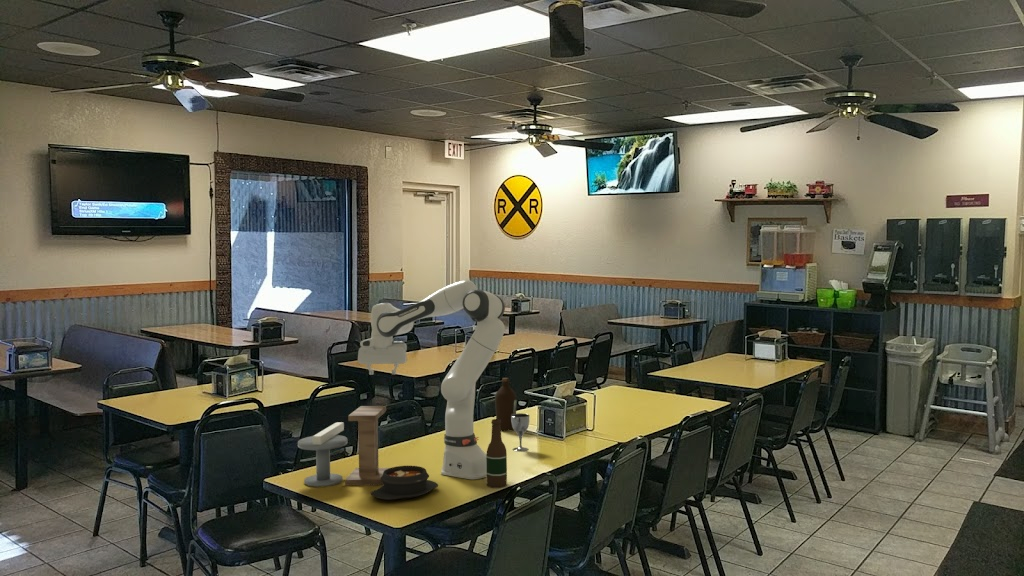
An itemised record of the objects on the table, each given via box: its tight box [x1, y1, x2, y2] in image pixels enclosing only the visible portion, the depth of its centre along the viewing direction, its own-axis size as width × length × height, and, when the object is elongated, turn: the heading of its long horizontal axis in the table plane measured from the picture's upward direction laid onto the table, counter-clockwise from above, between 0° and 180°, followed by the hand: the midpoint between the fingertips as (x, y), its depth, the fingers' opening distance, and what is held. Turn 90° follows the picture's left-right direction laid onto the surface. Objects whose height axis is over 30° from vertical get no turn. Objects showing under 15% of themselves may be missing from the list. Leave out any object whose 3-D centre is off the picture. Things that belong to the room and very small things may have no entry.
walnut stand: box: [344, 405, 390, 486], centre depth 279 cm, size 18×14×26 cm
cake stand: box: [297, 434, 348, 488], centre depth 277 cm, size 18×18×16 cm
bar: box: [312, 421, 345, 445], centre depth 282 cm, size 24×3×3 cm, turn 173°
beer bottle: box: [486, 418, 508, 489], centre depth 270 cm, size 8×8×24 cm
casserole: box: [370, 465, 439, 501], centre depth 260 cm, size 25×19×8 cm
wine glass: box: [511, 412, 530, 452], centre depth 321 cm, size 8×8×15 cm
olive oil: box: [494, 377, 518, 431], centre depth 361 cm, size 11×11×25 cm
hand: (382, 374), depth 309 cm, fingers open, 8 cm apart
